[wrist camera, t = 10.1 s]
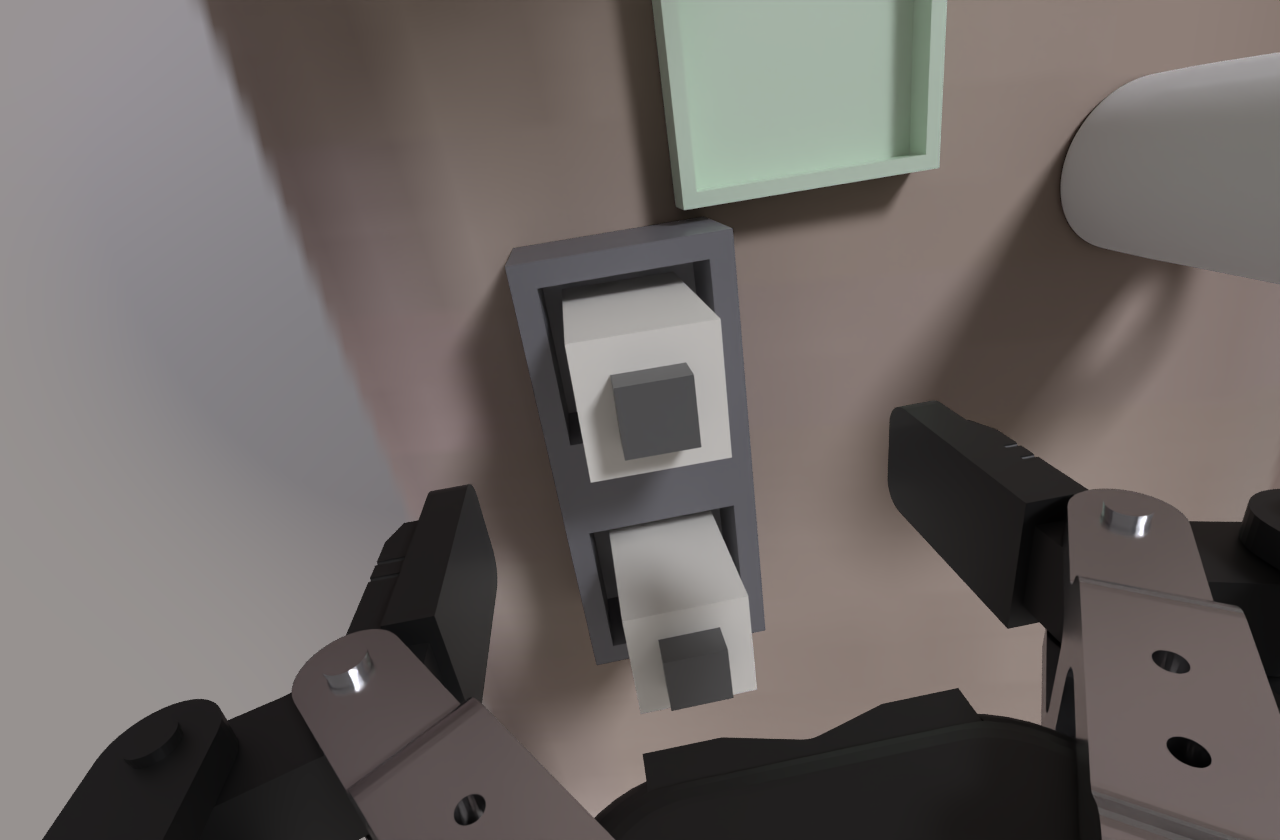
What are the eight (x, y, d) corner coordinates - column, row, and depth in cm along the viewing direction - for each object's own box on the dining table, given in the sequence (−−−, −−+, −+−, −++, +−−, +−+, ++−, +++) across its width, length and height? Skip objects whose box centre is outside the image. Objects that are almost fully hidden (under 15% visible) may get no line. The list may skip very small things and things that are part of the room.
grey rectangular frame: (513, 248, 22) (504, 266, 19) (704, 216, 23) (732, 228, 19) (591, 600, 29) (596, 665, 25) (739, 570, 29) (765, 630, 26)
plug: (561, 289, 22) (565, 356, 15) (672, 271, 22) (730, 329, 15) (580, 393, 24) (592, 501, 16) (684, 376, 24) (741, 474, 17)
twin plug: (605, 505, 26) (625, 645, 18) (700, 486, 26) (758, 617, 19) (620, 583, 27) (644, 739, 20) (709, 565, 27) (765, 713, 20)
